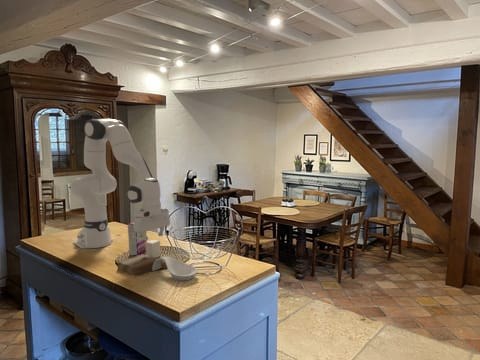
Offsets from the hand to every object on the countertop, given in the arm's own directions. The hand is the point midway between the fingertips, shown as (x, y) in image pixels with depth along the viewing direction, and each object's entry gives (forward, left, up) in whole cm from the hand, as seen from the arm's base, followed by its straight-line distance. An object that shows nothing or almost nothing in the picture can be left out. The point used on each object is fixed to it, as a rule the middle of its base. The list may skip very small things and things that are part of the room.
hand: (153, 237), depth 180 cm
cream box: (-1, 0, -10) cm, 10 cm away
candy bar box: (-13, 0, -10) cm, 16 cm away
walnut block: (+7, -14, -10) cm, 19 cm away
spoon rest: (+26, -11, -10) cm, 30 cm away
